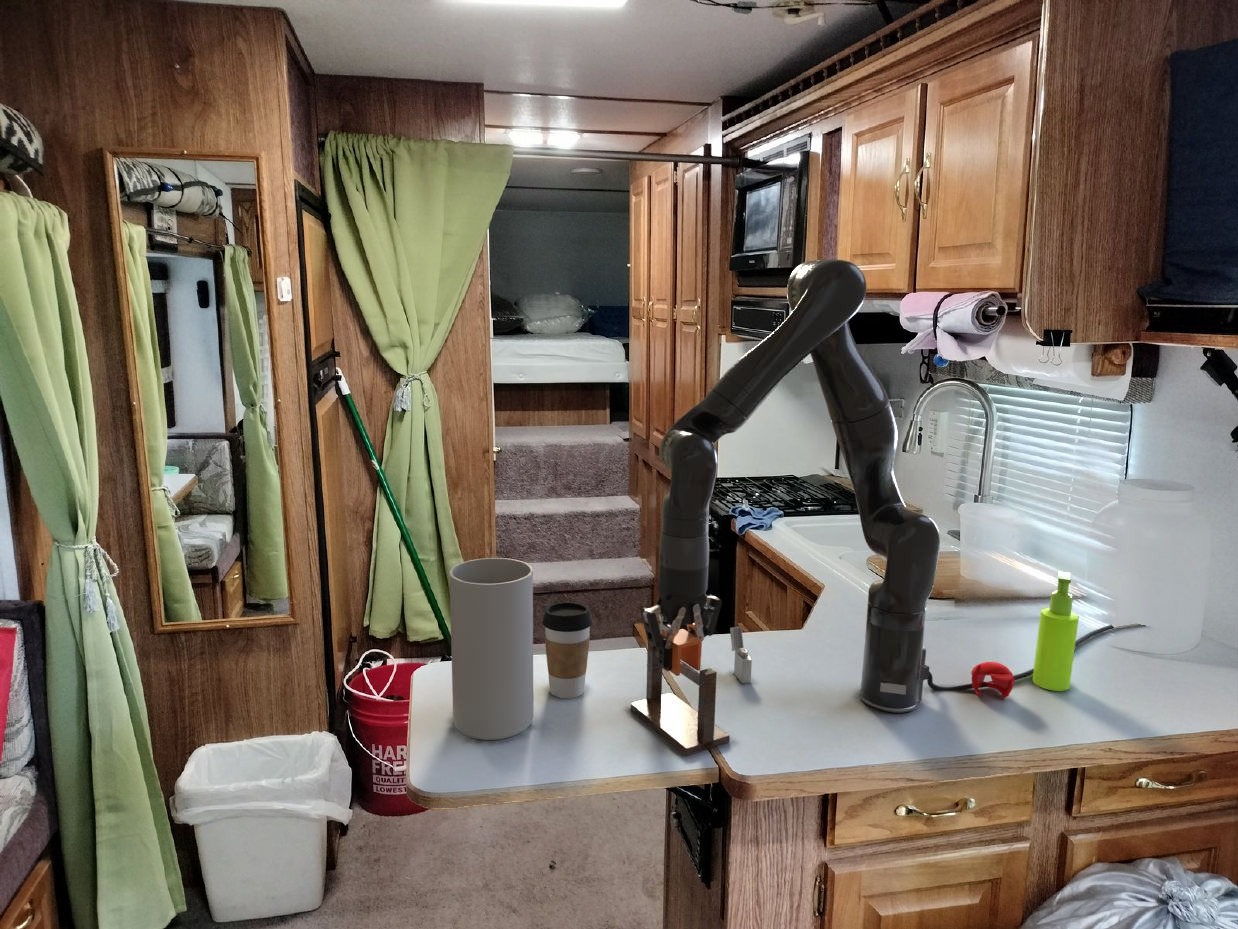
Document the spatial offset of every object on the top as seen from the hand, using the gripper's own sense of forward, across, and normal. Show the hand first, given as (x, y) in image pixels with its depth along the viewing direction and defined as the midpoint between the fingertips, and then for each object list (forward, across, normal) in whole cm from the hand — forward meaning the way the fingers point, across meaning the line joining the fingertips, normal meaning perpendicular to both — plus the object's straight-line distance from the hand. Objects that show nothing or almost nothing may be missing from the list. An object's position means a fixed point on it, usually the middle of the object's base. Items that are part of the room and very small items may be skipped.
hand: (679, 665), depth 131 cm
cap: (+10, +53, -17) cm, 57 cm away
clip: (0, 0, 0) cm, 0 cm away
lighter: (+10, +20, +10) cm, 25 cm away
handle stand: (+10, 0, 0) cm, 10 cm away
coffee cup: (+10, -10, +19) cm, 24 cm away
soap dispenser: (+10, +67, -19) cm, 70 cm away
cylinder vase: (+10, -25, +15) cm, 31 cm away
